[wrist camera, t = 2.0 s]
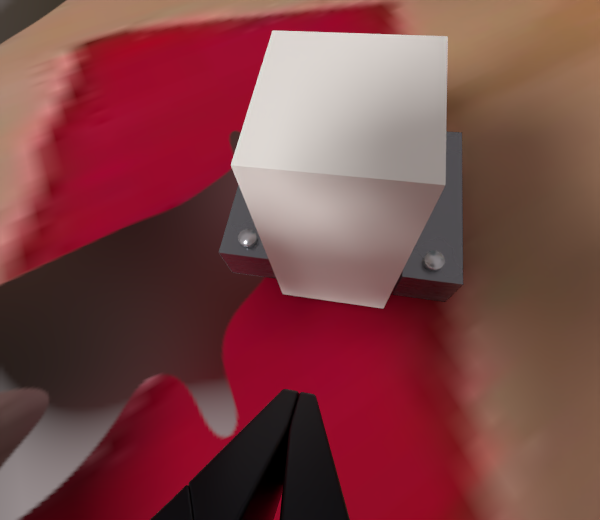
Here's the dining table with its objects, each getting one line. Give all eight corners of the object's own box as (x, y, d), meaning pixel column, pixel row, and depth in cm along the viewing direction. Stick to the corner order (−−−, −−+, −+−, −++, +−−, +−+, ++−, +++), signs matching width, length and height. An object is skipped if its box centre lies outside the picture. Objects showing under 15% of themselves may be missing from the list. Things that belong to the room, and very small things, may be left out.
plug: (383, 308, 20) (445, 184, 9) (282, 294, 21) (230, 165, 10) (392, 203, 23) (448, 13, 12) (302, 194, 24) (279, 9, 13)
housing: (445, 301, 20) (466, 281, 17) (232, 272, 22) (216, 249, 19) (447, 164, 24) (464, 127, 21) (265, 149, 26) (256, 113, 23)
